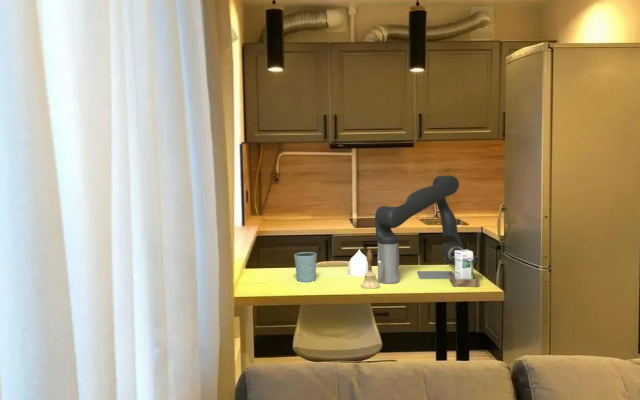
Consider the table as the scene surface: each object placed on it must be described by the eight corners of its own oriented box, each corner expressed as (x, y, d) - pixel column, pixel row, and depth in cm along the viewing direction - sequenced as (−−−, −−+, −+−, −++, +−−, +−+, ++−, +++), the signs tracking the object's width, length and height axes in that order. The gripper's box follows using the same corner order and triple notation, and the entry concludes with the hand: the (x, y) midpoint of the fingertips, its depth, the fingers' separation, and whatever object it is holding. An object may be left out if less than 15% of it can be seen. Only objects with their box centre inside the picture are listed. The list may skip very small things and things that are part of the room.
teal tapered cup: (314, 283, 244) (313, 256, 243) (292, 282, 246) (291, 255, 245) (319, 277, 254) (318, 252, 253) (297, 277, 256) (297, 251, 255)
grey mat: (419, 278, 248) (419, 277, 248) (417, 272, 260) (417, 271, 260) (455, 278, 247) (455, 277, 247) (451, 272, 259) (451, 271, 259)
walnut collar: (453, 286, 233) (453, 279, 233) (449, 280, 243) (449, 274, 243) (478, 286, 232) (478, 279, 232) (473, 280, 242) (473, 274, 242)
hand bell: (364, 289, 231) (364, 252, 230) (357, 285, 239) (357, 248, 238) (383, 287, 233) (382, 250, 232) (375, 283, 241) (375, 247, 240)
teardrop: (372, 276, 255) (371, 250, 254) (348, 276, 255) (347, 251, 254) (370, 271, 266) (370, 246, 265) (347, 271, 266) (347, 246, 265)
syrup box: (461, 286, 234) (461, 252, 233) (454, 282, 240) (454, 249, 238) (473, 284, 236) (473, 251, 234) (466, 281, 241) (466, 248, 240)
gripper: (441, 247, 253) (446, 254, 237) (473, 247, 252) (480, 254, 236) (441, 263, 254) (446, 271, 238) (473, 263, 253) (480, 271, 237)
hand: (463, 263), depth 237 cm, fingers open, 8 cm apart
